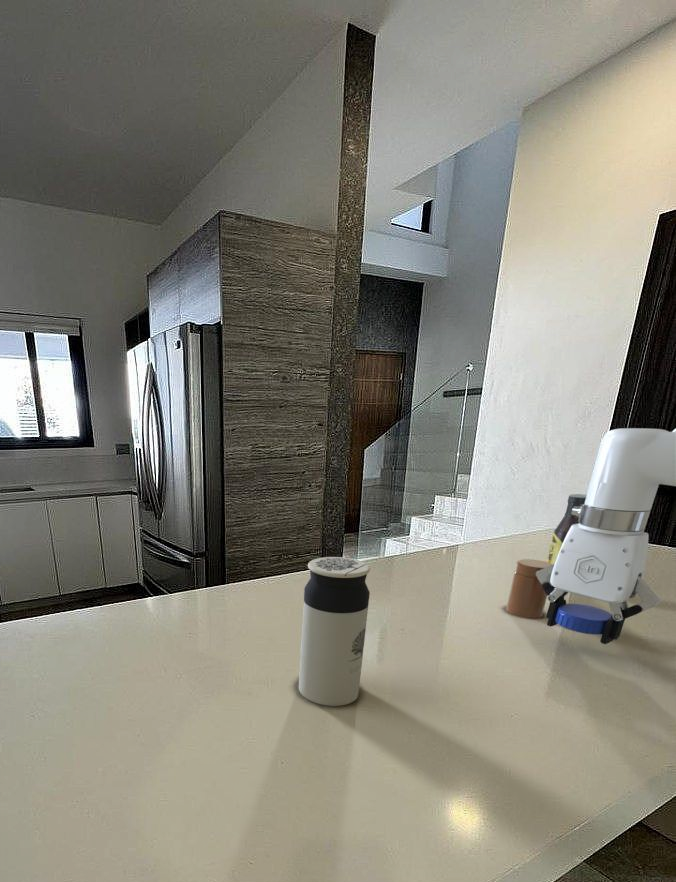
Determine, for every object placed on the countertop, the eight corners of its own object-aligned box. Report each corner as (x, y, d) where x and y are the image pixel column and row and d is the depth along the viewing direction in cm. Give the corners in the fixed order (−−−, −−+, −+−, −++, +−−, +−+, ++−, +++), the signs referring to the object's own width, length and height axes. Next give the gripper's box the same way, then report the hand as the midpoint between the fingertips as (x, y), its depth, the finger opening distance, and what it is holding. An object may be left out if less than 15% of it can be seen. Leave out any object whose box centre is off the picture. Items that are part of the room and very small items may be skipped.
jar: (530, 608, 93) (542, 559, 90) (548, 620, 88) (562, 568, 84) (499, 608, 93) (510, 558, 90) (515, 620, 88) (527, 567, 84)
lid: (621, 632, 72) (625, 618, 71) (582, 636, 71) (586, 622, 70) (580, 615, 78) (584, 602, 77) (544, 618, 77) (547, 605, 76)
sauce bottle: (547, 579, 109) (569, 491, 102) (579, 586, 105) (604, 495, 98) (536, 586, 105) (558, 494, 98) (569, 593, 101) (594, 498, 94)
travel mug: (286, 689, 66) (292, 563, 59) (323, 671, 70) (333, 552, 64) (333, 715, 60) (345, 579, 53) (370, 693, 65) (385, 565, 58)
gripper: (535, 512, 74) (510, 619, 80) (680, 534, 60) (636, 661, 66) (560, 508, 77) (534, 610, 84) (701, 528, 64) (657, 648, 70)
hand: (579, 631), depth 75 cm, fingers closed on lid, 6 cm apart
